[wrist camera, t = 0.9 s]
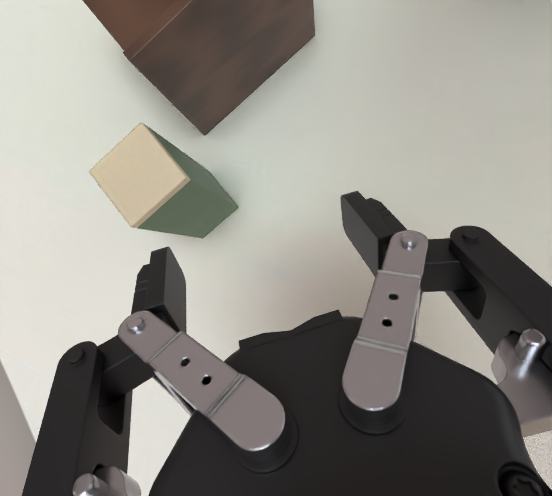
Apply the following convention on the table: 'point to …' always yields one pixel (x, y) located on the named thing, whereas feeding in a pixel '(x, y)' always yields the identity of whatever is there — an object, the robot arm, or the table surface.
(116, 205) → the carton
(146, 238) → the table surface
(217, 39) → the shelf
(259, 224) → the table surface
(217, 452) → the robot arm
